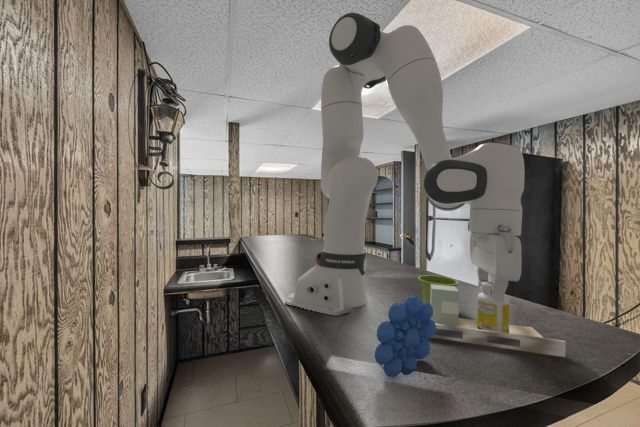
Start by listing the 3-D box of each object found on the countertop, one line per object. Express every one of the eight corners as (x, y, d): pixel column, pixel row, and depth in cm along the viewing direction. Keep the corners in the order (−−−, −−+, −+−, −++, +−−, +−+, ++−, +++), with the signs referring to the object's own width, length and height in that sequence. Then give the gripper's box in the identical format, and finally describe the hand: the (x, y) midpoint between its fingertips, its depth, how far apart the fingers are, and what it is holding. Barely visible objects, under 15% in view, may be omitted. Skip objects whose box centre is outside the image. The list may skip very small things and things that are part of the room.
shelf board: (424, 344, 53) (425, 323, 53) (421, 319, 65) (421, 302, 65) (565, 366, 46) (565, 342, 46) (531, 334, 59) (532, 315, 59)
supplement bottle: (501, 329, 57) (502, 281, 57) (514, 341, 52) (515, 288, 52) (472, 326, 58) (473, 279, 58) (482, 337, 53) (483, 286, 53)
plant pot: (456, 311, 72) (457, 277, 72) (458, 323, 63) (459, 285, 64) (419, 305, 76) (419, 273, 76) (415, 316, 67) (416, 281, 67)
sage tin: (458, 331, 56) (459, 291, 56) (431, 327, 57) (432, 288, 57) (455, 323, 59) (455, 286, 59) (429, 320, 61) (430, 284, 61)
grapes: (413, 353, 49) (415, 286, 49) (445, 373, 43) (447, 296, 43) (358, 367, 44) (360, 292, 44) (386, 392, 38) (388, 305, 38)
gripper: (536, 227, 44) (530, 313, 44) (496, 225, 64) (492, 285, 64) (491, 224, 46) (485, 306, 46) (466, 223, 66) (462, 281, 66)
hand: (489, 294), depth 55 cm, fingers open, 8 cm apart
